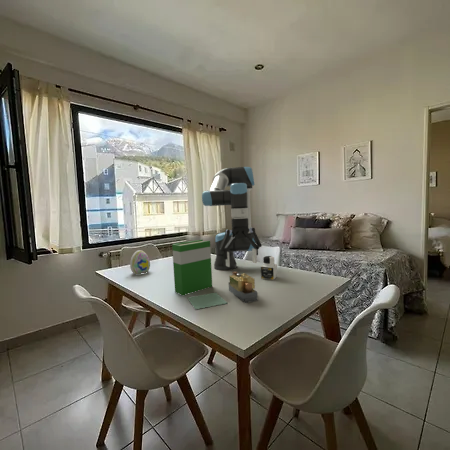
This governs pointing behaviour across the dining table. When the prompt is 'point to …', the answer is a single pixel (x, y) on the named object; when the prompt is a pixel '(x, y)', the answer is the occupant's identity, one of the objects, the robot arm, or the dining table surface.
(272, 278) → the medicine bottle
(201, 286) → the hardback book
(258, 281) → the dining table surface
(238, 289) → the lever cap
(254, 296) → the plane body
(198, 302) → the mat
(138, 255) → the decorative egg
